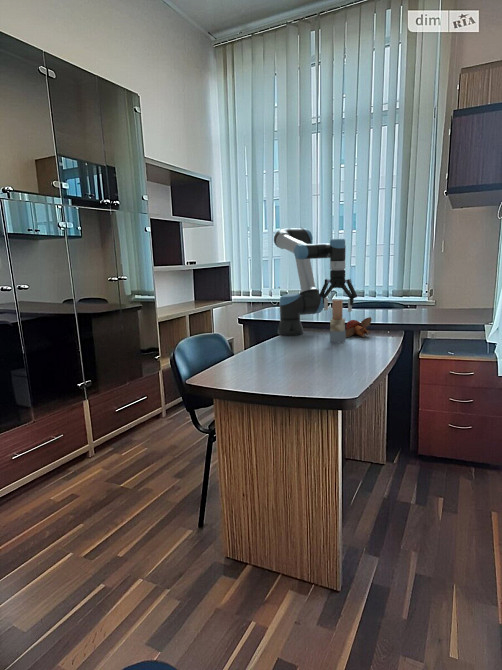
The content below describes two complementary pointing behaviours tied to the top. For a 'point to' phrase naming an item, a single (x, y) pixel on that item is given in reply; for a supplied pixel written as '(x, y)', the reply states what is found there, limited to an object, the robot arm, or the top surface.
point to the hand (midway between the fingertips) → (337, 310)
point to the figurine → (358, 327)
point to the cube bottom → (337, 336)
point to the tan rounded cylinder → (337, 309)
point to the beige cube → (337, 325)
